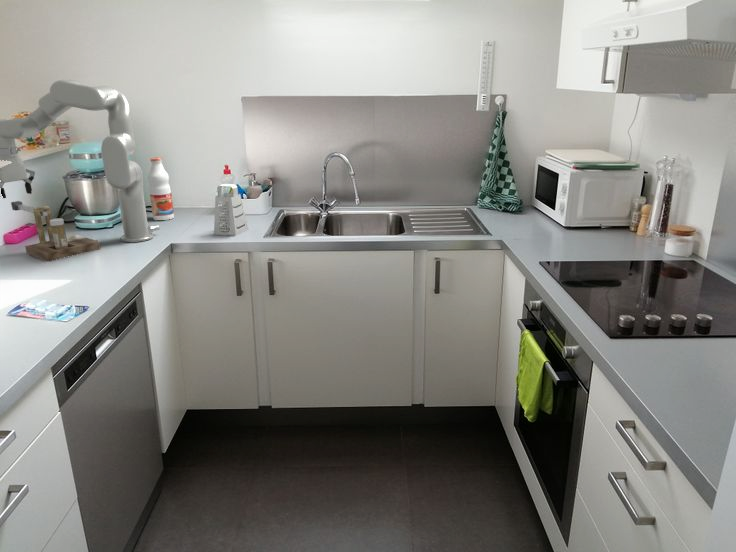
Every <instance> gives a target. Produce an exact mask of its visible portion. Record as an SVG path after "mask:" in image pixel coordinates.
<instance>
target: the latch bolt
mask: <svg viewBox="0 0 736 552" xmlns="http://www.w3.org/2000/svg"><path fill="white" fill-rule="evenodd" d="M10 204H11V210H12V211H24V212H28V213H32V214H34V212H33V208H34V207H32V206H29V205H26V204H23V201H20V200H18V201H11V202H10ZM40 214H41V217H45V216H48V213H47V211H44V210H43V211H40Z"/></svg>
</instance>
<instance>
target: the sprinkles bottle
mask: <svg viewBox="0 0 736 552" xmlns="http://www.w3.org/2000/svg"><path fill="white" fill-rule="evenodd" d="M50 225H51V228H52V232H53V233H52V234H53V239H54V244H55V247H56V250H60V249H64V248H68V243H67V238H66V237H67V233H66V229H65V222H64V219H63V218H61V217H60V218H52V220H50Z"/></svg>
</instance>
